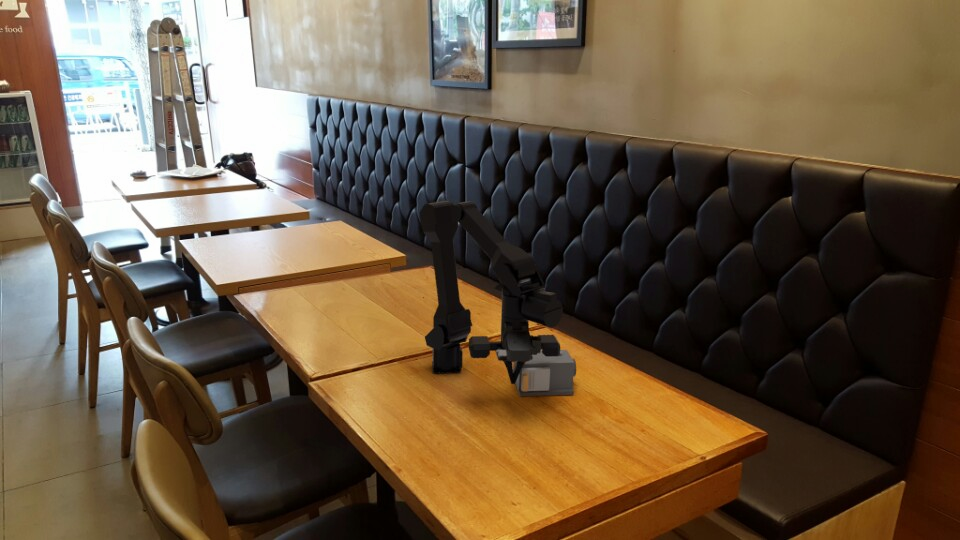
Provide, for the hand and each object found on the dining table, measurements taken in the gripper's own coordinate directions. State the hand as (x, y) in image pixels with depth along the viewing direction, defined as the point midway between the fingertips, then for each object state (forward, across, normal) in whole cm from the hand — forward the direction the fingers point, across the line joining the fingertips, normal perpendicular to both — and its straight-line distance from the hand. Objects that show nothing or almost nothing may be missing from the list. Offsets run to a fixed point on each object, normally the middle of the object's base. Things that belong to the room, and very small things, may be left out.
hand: (512, 383), depth 144 cm
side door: (+2, +5, +1) cm, 6 cm away
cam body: (+4, +8, +6) cm, 10 cm away
